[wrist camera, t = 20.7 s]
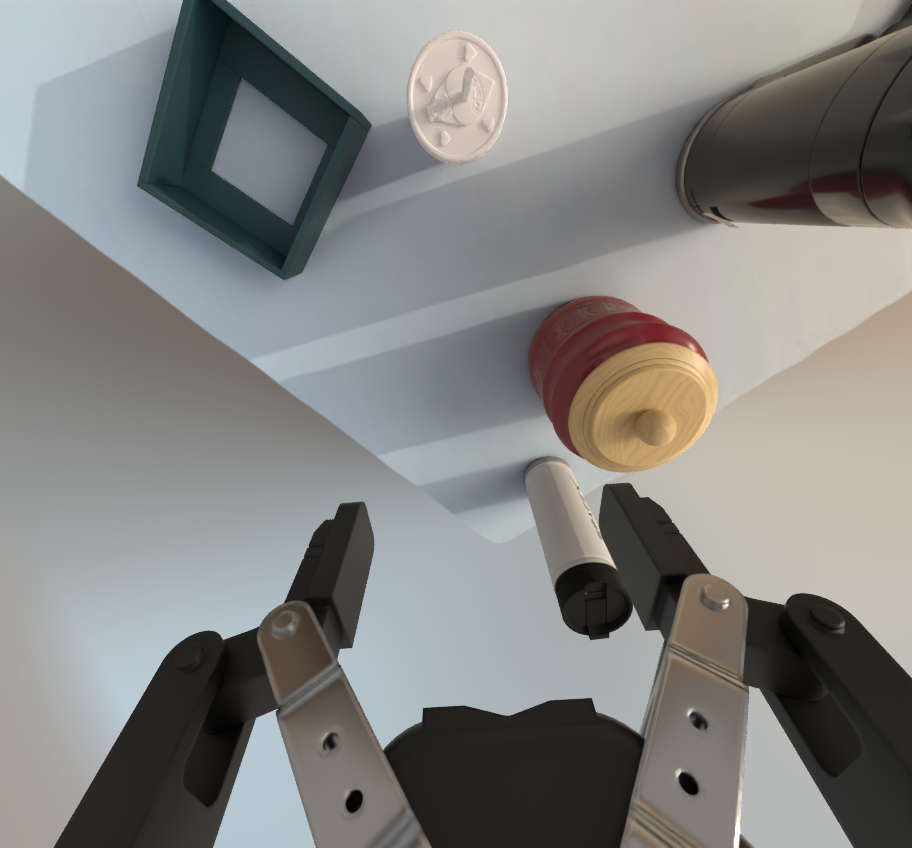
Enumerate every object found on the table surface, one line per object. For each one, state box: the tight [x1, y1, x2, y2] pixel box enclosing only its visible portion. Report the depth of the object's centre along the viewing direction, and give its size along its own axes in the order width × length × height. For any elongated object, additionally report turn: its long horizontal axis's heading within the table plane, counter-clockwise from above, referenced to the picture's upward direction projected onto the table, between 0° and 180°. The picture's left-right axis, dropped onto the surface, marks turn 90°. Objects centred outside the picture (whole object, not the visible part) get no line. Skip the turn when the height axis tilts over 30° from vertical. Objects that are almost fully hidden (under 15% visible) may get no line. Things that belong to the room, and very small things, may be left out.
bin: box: [137, 0, 372, 280], centre depth 30 cm, size 14×12×4 cm
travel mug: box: [524, 457, 633, 640], centre depth 41 cm, size 6×7×20 cm
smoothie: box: [407, 31, 508, 165], centre depth 25 cm, size 6×6×14 cm
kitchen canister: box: [529, 296, 718, 472], centre depth 34 cm, size 13×13×18 cm
